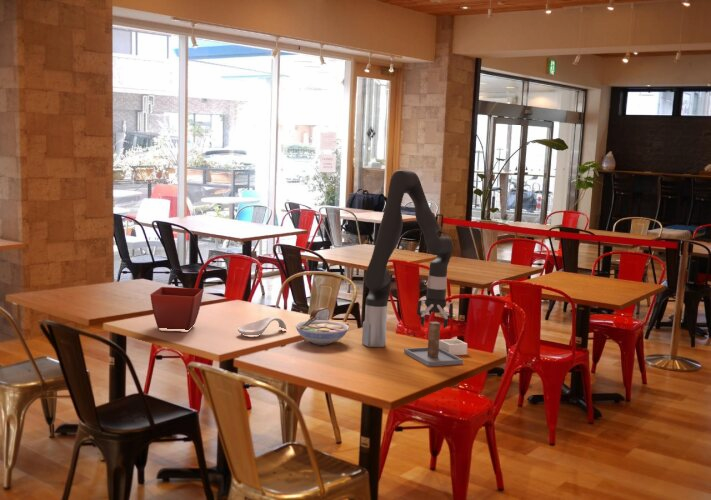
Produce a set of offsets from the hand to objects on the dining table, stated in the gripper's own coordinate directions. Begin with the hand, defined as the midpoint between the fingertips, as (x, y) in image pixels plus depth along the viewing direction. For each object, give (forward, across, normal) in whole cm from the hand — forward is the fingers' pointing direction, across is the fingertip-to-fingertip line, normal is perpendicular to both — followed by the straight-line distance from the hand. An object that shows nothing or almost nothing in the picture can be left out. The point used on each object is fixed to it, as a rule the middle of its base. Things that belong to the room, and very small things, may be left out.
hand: (433, 326), depth 320 cm
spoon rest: (+15, +74, -19) cm, 78 cm away
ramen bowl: (+14, +47, -12) cm, 50 cm away
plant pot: (+16, +112, -16) cm, 114 cm away
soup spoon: (+15, +54, -45) cm, 71 cm away
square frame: (+13, -8, -13) cm, 20 cm away
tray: (+13, -1, 0) cm, 13 cm away
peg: (+12, -1, 0) cm, 12 cm away
